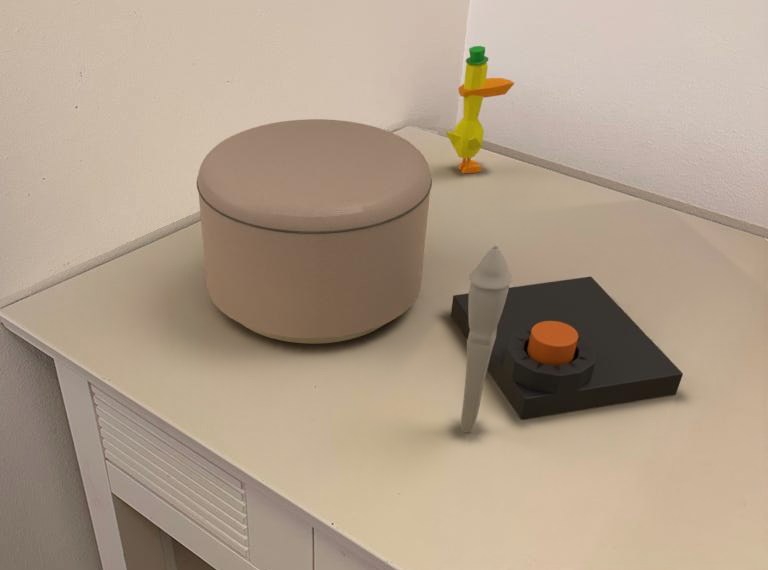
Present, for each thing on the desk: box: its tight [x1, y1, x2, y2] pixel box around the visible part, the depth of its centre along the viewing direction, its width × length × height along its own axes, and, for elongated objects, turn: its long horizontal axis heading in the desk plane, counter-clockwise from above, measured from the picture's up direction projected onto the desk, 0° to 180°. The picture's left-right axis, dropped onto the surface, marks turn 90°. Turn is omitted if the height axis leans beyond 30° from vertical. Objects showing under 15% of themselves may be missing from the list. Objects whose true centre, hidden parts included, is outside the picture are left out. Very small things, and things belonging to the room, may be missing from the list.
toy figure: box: [445, 45, 515, 174], centre depth 89 cm, size 7×4×12 cm, turn 106°
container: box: [196, 118, 433, 345], centre depth 71 cm, size 18×18×12 cm
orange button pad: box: [450, 276, 684, 420], centre depth 67 cm, size 12×14×4 cm
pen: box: [460, 244, 513, 433], centre depth 57 cm, size 2×3×14 cm
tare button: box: [527, 321, 578, 365], centre depth 62 cm, size 3×3×2 cm
